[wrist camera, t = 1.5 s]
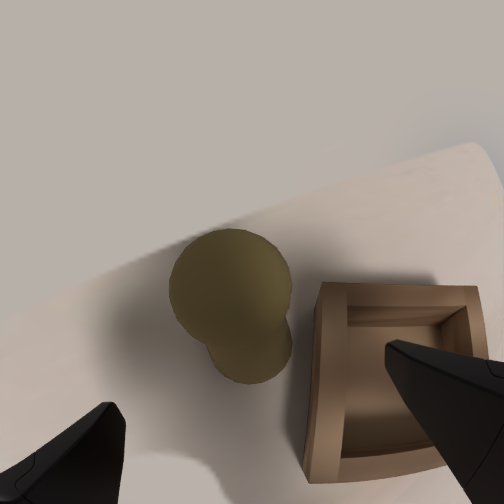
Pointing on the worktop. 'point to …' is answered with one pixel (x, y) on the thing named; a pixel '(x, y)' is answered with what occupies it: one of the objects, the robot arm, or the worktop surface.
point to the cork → (235, 302)
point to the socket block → (378, 375)
